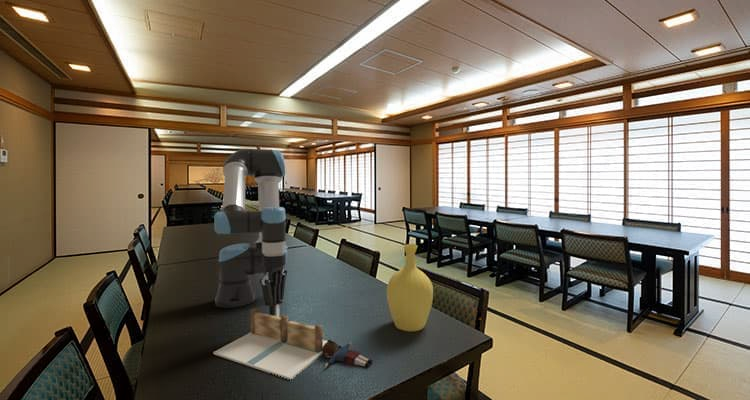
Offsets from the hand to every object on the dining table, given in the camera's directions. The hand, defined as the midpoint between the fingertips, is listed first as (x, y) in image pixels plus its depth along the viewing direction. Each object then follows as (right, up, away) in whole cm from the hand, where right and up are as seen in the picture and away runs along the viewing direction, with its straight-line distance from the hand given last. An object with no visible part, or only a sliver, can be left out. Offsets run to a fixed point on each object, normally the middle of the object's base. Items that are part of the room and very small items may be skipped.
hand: (274, 323), depth 109 cm
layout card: (+4, -3, -12) cm, 13 cm away
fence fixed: (+13, -2, -12) cm, 18 cm away
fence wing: (0, -2, -6) cm, 6 cm away
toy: (+25, -4, -17) cm, 31 cm away
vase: (+46, -3, +5) cm, 46 cm away
